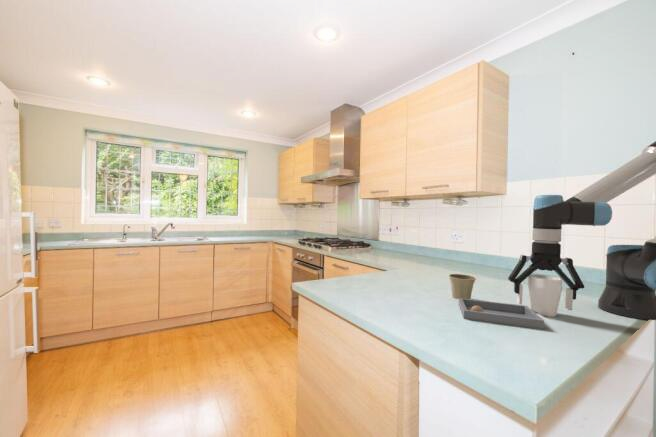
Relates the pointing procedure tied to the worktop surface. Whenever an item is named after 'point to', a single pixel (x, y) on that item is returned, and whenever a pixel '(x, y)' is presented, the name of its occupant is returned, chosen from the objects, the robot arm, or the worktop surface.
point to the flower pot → (461, 285)
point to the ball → (477, 308)
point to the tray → (501, 313)
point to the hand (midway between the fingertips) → (543, 306)
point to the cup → (544, 294)
